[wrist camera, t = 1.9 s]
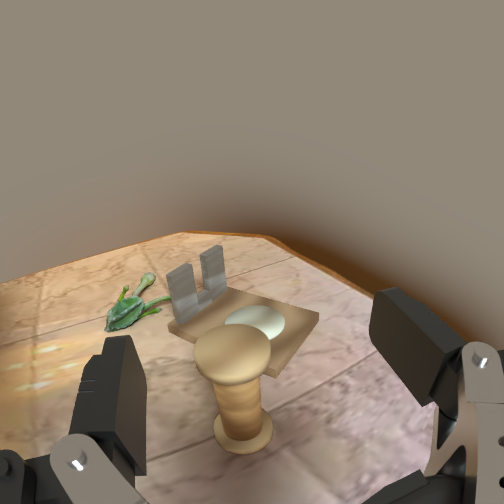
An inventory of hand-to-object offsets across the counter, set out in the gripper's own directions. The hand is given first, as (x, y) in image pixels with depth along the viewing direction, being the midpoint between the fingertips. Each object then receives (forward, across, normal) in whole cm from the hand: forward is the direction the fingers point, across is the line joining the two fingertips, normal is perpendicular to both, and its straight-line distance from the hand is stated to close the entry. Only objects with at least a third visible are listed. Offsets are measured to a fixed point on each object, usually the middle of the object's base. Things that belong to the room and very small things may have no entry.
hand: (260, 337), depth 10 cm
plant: (+42, +11, +23) cm, 49 cm away
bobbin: (+11, 0, +22) cm, 25 cm away
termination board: (+29, -3, +22) cm, 37 cm away
